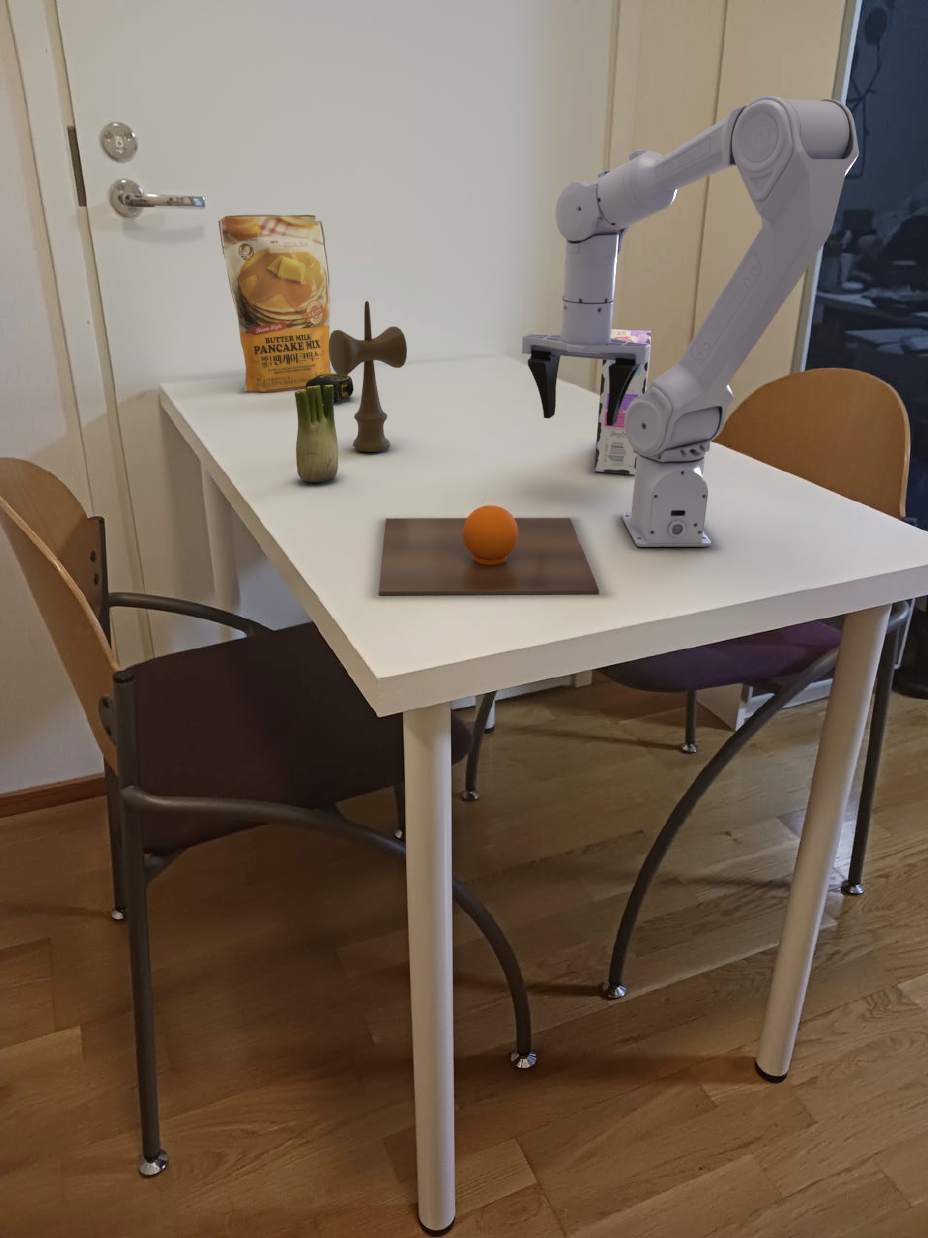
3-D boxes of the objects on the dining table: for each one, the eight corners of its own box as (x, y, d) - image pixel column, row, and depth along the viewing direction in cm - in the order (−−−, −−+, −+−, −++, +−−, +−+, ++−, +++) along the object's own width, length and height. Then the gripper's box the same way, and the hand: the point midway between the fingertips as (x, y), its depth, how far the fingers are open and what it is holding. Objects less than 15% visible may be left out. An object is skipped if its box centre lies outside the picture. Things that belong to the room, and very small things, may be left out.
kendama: (331, 449, 135) (323, 300, 126) (391, 439, 140) (387, 295, 131) (350, 459, 131) (344, 306, 122) (412, 449, 135) (410, 300, 127)
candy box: (638, 476, 126) (650, 346, 118) (593, 472, 127) (602, 344, 119) (642, 447, 138) (653, 328, 131) (600, 444, 139) (609, 326, 132)
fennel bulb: (336, 472, 126) (331, 379, 120) (346, 483, 121) (342, 388, 116) (292, 477, 124) (285, 383, 118) (300, 488, 120) (294, 391, 114)
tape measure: (304, 400, 161) (302, 377, 159) (332, 392, 166) (331, 370, 164) (334, 406, 157) (333, 383, 156) (362, 398, 162) (361, 376, 161)
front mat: (598, 593, 92) (599, 590, 92) (379, 595, 91) (378, 591, 91) (570, 521, 110) (570, 517, 110) (386, 521, 109) (386, 518, 109)
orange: (519, 569, 97) (521, 516, 94) (463, 569, 96) (464, 516, 94) (514, 548, 102) (516, 497, 99) (461, 548, 101) (462, 497, 99)
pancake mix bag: (228, 388, 168) (211, 214, 156) (329, 377, 177) (321, 211, 165) (240, 396, 163) (224, 216, 151) (344, 384, 172) (337, 214, 159)
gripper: (514, 300, 107) (510, 420, 113) (643, 309, 102) (631, 435, 108) (535, 292, 113) (530, 407, 119) (658, 300, 108) (646, 420, 114)
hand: (580, 420), depth 114 cm, fingers open, 7 cm apart
